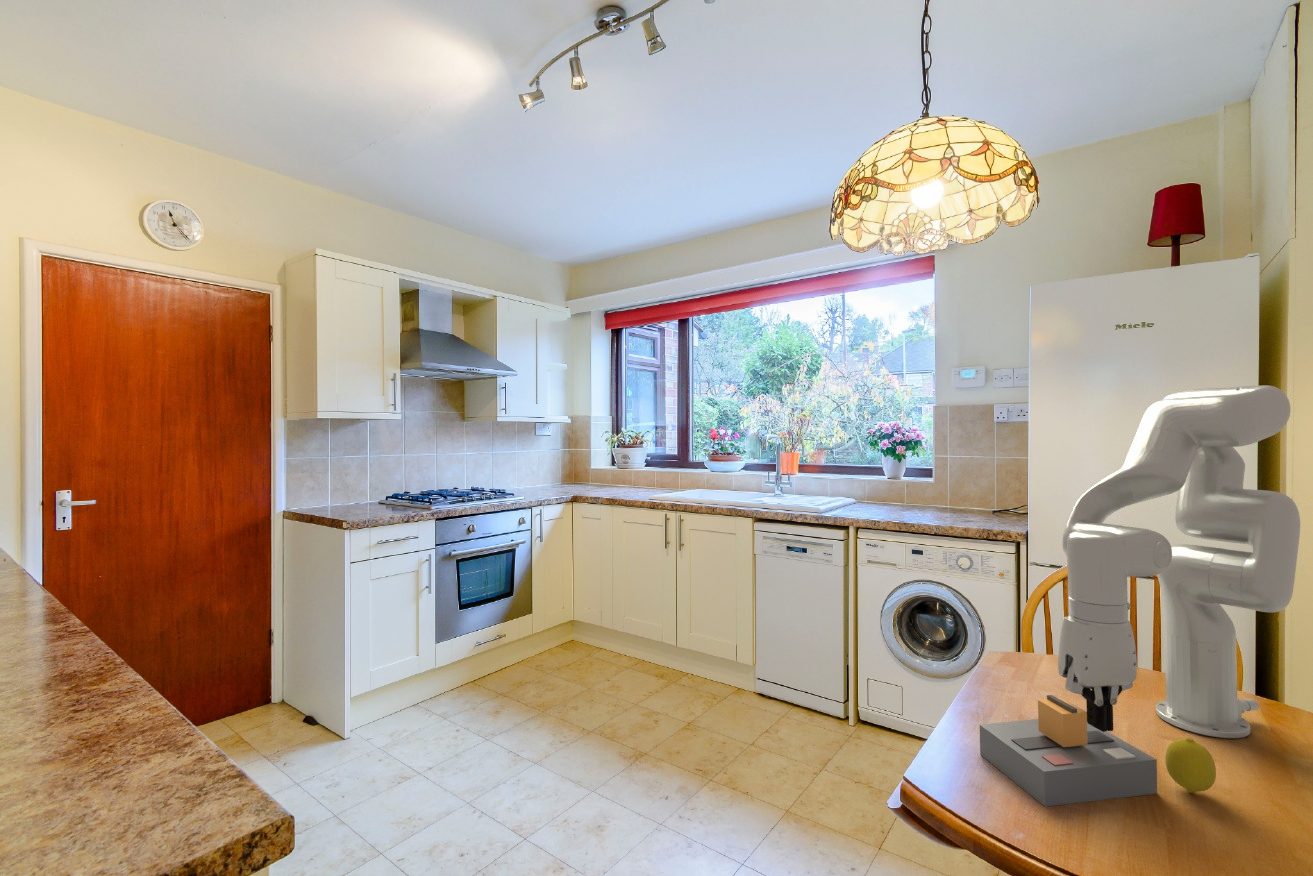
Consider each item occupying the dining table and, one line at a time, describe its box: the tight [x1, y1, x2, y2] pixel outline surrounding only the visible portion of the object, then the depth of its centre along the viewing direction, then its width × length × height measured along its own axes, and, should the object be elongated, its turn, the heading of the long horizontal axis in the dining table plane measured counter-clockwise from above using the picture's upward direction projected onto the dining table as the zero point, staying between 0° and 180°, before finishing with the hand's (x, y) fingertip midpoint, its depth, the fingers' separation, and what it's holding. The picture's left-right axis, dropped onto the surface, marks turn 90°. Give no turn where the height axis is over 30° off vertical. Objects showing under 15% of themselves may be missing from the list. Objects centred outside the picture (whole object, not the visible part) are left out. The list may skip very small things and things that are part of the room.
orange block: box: [1037, 694, 1087, 747], centre depth 94 cm, size 4×5×6 cm
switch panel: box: [979, 718, 1158, 807], centre depth 94 cm, size 18×14×5 cm
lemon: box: [1164, 737, 1217, 794], centre depth 88 cm, size 6×6×8 cm
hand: (1099, 727), depth 94 cm, fingers closed
